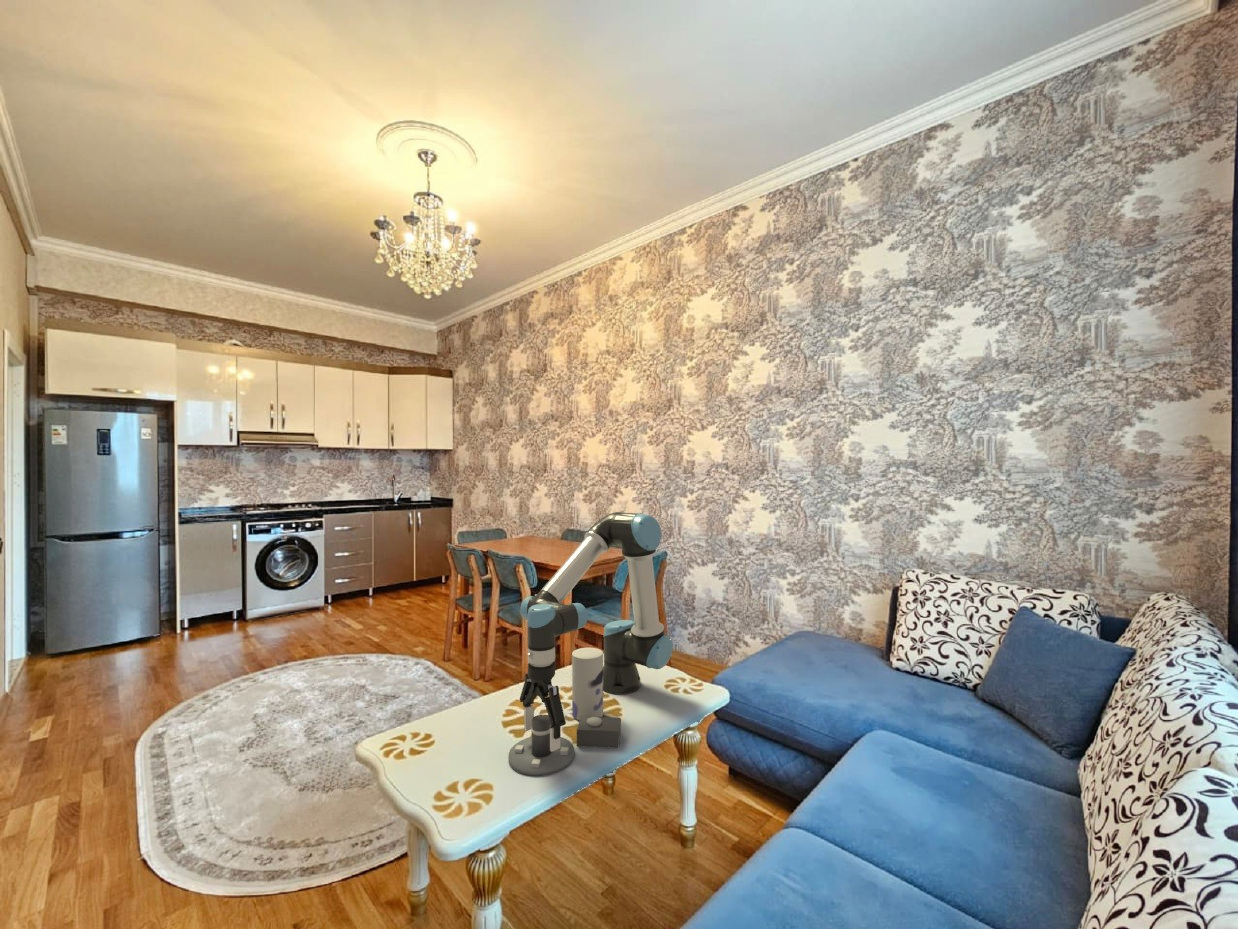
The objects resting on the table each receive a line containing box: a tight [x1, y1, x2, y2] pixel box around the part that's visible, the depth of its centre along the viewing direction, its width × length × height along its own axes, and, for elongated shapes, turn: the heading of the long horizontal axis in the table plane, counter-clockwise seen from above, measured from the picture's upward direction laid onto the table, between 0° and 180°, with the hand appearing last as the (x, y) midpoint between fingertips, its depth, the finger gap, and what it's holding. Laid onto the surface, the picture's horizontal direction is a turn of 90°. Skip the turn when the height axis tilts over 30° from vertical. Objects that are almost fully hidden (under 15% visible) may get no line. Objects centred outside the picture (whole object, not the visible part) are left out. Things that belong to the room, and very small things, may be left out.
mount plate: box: [508, 736, 575, 777], centre depth 140 cm, size 18×18×2 cm
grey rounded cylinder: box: [530, 714, 552, 758], centre depth 140 cm, size 6×6×9 cm
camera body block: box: [576, 716, 622, 749], centre depth 149 cm, size 12×8×6 cm, turn 85°
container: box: [571, 647, 604, 721], centre depth 164 cm, size 10×10×20 cm
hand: (541, 739), depth 140 cm, fingers open, 13 cm apart
